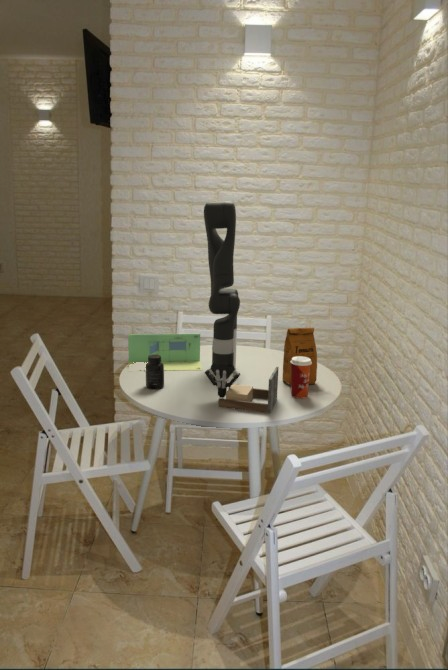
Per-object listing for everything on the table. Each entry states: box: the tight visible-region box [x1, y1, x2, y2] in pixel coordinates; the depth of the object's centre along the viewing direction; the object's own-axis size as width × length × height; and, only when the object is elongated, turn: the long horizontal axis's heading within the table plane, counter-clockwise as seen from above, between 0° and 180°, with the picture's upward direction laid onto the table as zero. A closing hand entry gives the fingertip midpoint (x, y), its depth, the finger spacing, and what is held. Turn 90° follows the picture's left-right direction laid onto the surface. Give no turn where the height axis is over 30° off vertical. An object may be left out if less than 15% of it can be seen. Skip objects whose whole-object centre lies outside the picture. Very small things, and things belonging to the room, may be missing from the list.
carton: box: [225, 383, 254, 402], centre depth 209 cm, size 9×8×5 cm
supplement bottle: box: [145, 355, 165, 391], centre depth 221 cm, size 7×7×12 cm
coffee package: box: [282, 327, 318, 386], centre depth 228 cm, size 10×12×22 cm
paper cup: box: [290, 356, 312, 399], centre depth 215 cm, size 8×8×14 cm
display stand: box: [127, 333, 203, 372], centre depth 245 cm, size 30×12×12 cm, turn 97°
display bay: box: [218, 366, 280, 414], centre depth 207 cm, size 14×18×12 cm
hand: (221, 397), depth 211 cm, fingers closed
